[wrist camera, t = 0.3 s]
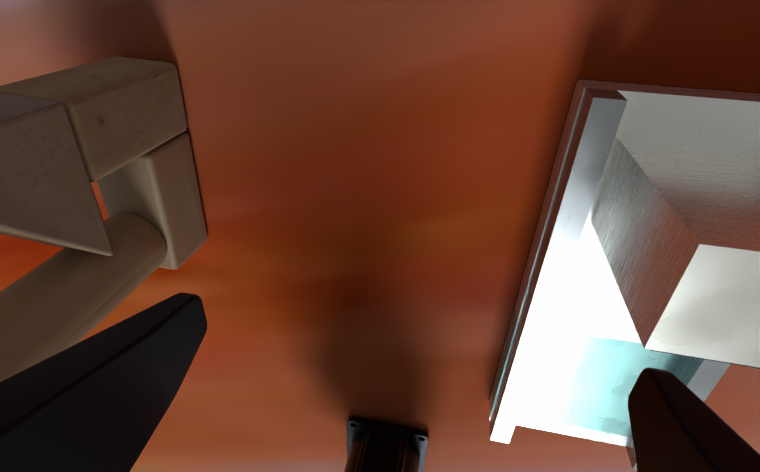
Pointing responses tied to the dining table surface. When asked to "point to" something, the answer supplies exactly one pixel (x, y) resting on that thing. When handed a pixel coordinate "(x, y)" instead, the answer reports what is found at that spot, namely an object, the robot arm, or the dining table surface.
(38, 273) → the beige frame piece
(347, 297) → the dining table surface
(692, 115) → the rail
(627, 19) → the dining table surface
